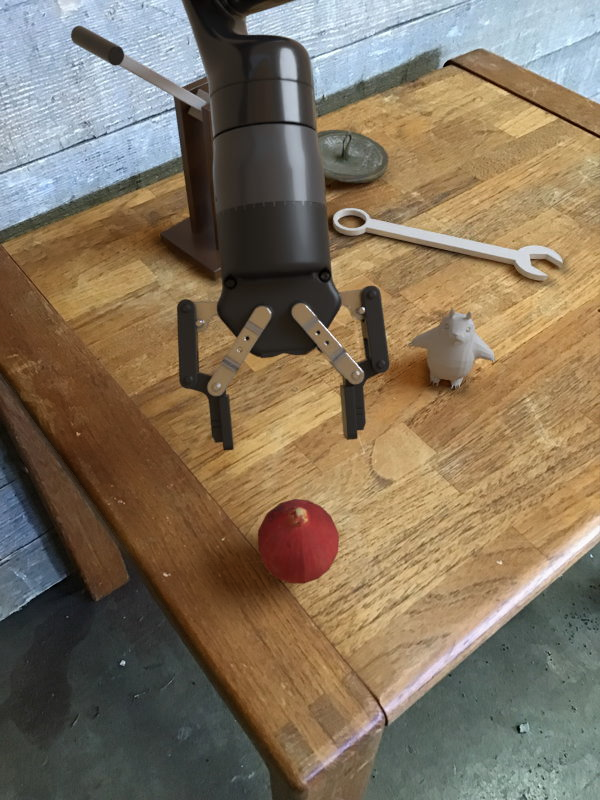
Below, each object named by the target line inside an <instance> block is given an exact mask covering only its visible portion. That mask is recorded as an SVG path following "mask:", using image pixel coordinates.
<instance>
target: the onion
mask: <svg viewBox="0 0 600 800" xmlns="http://www.w3.org/2000/svg"><path fill="white" fill-rule="evenodd" d="M339 542H340V536H339V531H338V528H337V527H336V524H335V522H334V520H333V517H332V516H331V515H330V513H328V512H327V510H325V509H324V508H323V507H322V506H321V505H319V504H317V503H315V502H312V501H310V500H308V499H302V498H301V499H300V498H293V499H289V500H287V501H282V502H280V503H278V504H277V505H276V506H275V507H273V508H272V509H270V510H269V511H268V512H266V514H265V516H264V519H263V520H262V521H261V524H260V525H259V528H258V530H257V552H258V554H259V556H260V559H261V561H262V565H264V568H265V569H266V570H268V572H269V573H270V574H271V575H272V576H274V578H275V579H278V580H281V581H283V582H285V583H289V584H301V585H303V584H306V583H310V582H313V581H316V580H318V579H320V578H321V577H322V576H324V575H325V574H326V573H327V572H328V571H330V570H331V567H332V565H333V563H334V562H335V560H336V557H337V556H338V553H339V544H340V543H339Z"/></svg>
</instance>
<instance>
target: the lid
mask: <svg viewBox="0 0 600 800" xmlns="http://www.w3.org/2000/svg"><path fill="white" fill-rule="evenodd" d="M317 134H318V142H319V147H320V152H321V156H322V162H323V167H324V176H325V178H327V179H328V180H332V181H336V182H340V183H346V184H364V183H371V182H373V181H376V180H378V179H380V178H382V177H383V175H385V174H386V171H387V170H388V167H389V165H388V164H389V153H388V152H387V150H386V149H385V148H384V146H382V145H381V144H380V143H379V142H377V141H375V140H374V139H373V138H371V137H370V136H367V135H364V134H362V133H358V132H355V131H351V130H344V129H327V130H321V131H318V132H317Z"/></svg>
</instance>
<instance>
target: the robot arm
mask: <svg viewBox="0 0 600 800" xmlns="http://www.w3.org/2000/svg"><path fill="white" fill-rule="evenodd" d="M180 1H181V4H182V5H183V8H184V11H185V15H186V16H187V20H188V22H189V25H190V28H191V31H192V35H193V38H194V41H195V44H196V47H197V50H198V54H199V56H200V59H201V63H202V66H203V70H204V73H205V76H207V80H208V85H209V99H210V107H211V118H212V130H213V146H214V157H213V187H214V206H215V210H216V221H217V233H218V244H219V255H220V266H221V277H220V279H221V286H222V287H221V293H220V296H219V298H218V301H192V300H191V299H187V298H185V299H184V298H183V299H181V300H179V302H178V303H177V304H176V305H177V306H176V319H177V321H176V323H177V350H178V351H177V352H178V354H177V355H178V376H179V377H178V380H179V384H180V386H181V387H182V388H183V389H186V390H192V391H195V392H200V393H202V394H204V396H206V397H207V400H208V407H209V420H210V430H211V436H212V439H213V441H214V443H215V444H217V443H218V444H219V443H222V450H223V451H224V452H225V451H234V449H235V445H234V432H233V421H232V411H231V398H230V394H229V393H227V388H228V387H229V385H230V384H231V381H232V380H233V378H234V377H235V376H236V373H238V371H239V369H240V368H241V366H242V365H243V363H244V362H245V360H246V358H247V356H249V354H251V355H253V356H255V357H257V358H260V359H268V358H270V359H271V358H275V357H278V356H280V355H283V354H285V355H292V356H305V355H308V354H309V353H311V352H313V351H314V350H315V349H316V350H317V352H318V353H319V354H320V355H321V356H322V357H323V359H325V360H326V361H327V363H329V364H330V366H331V367H332V368H333V369H334V370H335V371H336V372H337V374H338V375H340V378H342V384H340V385H339V395H340V406H341V407H340V408H341V420H342V422H341V423H342V433H343V438H345V440H347V441H352V440H358V431H364V430H365V426H366V423H367V421H366V420H367V418H366V409H365V408H366V406H365V393H364V387H365V384H366V382H367V380H369V379H371V378H373V377H375V376H377V375H379V374H384V373H386V372H388V370H389V369H390V365H391V364H390V356H389V349H388V341H387V332H386V326H385V318H384V309H383V302H382V301H383V300H382V294H381V290H380V289H379V288H378V286H375V285H367V286H364V287H363V288H360V289H352V290H345V291H339V290H338V289H337V287H336V285H335V282H334V280H333V272H332V257H331V245H330V231H329V219H328V205H327V193H326V192H327V191H326V180H325V178H326V177H325V176H324V167H323V162H322V156H321V152H320V147H319V142H318V134H317V133H318V122H317V107H316V106H317V105H316V94H315V83H314V82H315V81H314V71H313V70H314V69H313V64H312V60H311V56H310V54H309V52H308V49H306V48H305V46H304V45H303V44H302V43H301V42H299V41H298V40H295V39H293V38H290V37H288V36H283V35H279V34H278V35H277V34H249V31H248V27H247V18H248V17H249V16H252V15H254V14H258V13H261V12H264V11H268V10H271V9H273V8H278V7H280V6H283V5H284V6H285V5H287V4H290V3H293V2H296V1H298V0H180ZM341 307H344V308H346V309H347V310H348V312H349V315H350V317H351V318H352V319H354V320H356V321H360V327H361V329H360V330H361V336H362V342H363V344H362V345H363V350H364V358H363V359H362V360H359V361H357V362H356V361H355V360H354V359H353V358H352V356H351V355H350V354H349V352H347V351H346V349H345V347H344V346H343V345H342V344H341V343H340V342H339V341H338V339H337V338H336V337H335V336H334V335H333V334H332V332H331V331H330V330H329V328H330V326H331V325H332V323H333V321H334V319H335V318H336V317H337V315H338V313H339V311H340V309H341ZM213 317H218V318H219V319H220V320H221V321H222V323H223V324H224V325H225V326H226V328H228V330H229V331H230V332H231V333H232V334H233V336H234V337H235V340H234V342H233V343H232V345H231V346H230V348H229V350H228V351H227V352H226V354H225V356H224V357H223V359H222V361H221V362H220V363H219V365H218V367H217V369H216V370H215V372H214V373H213V374H208V373H205V372H201V371H200V354H199V353H200V352H199V351H200V349H199V333H204V332H206V331H207V330H208V329H209V326H210V321H211V319H212V318H213ZM240 349H241V350H240Z"/></svg>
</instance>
